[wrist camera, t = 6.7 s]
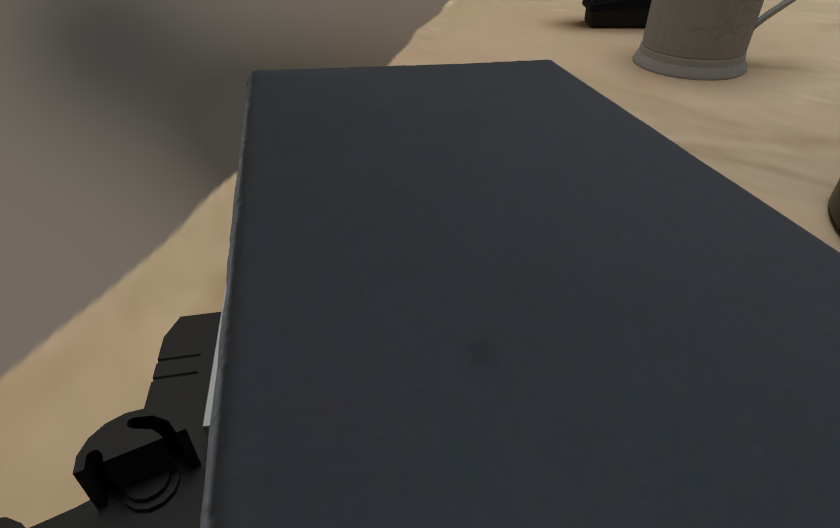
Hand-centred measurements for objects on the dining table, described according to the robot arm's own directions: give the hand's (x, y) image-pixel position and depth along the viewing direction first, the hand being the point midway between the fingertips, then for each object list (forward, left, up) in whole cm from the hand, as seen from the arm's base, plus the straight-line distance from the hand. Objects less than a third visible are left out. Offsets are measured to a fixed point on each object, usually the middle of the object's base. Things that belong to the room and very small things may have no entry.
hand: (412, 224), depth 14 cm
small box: (0, +6, -6) cm, 9 cm away
